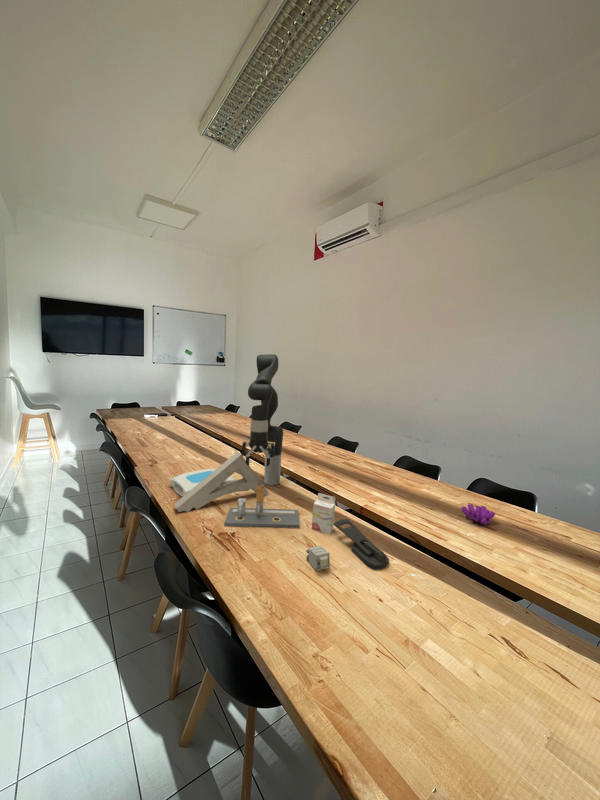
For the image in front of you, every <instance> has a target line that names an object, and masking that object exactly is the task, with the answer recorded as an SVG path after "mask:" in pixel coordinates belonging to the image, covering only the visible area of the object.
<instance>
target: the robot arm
mask: <svg viewBox="0 0 600 800" xmlns="http://www.w3.org/2000/svg"><path fill="white" fill-rule="evenodd" d="M279 364H280V363H279V358H278V355H277V354H271V353H269V354H258V355H257V356H256V369H257V376H256V379H255V380H254V381H253V382H251V384H250V385H249V387H248V389H247V395H248V397H249V399H250V400H252V401H260V404H259V405H253V406H252V407H251V420H250V428H249V429H250V434H249V442H247V441H246V440H245V441H243V442H242V446H241V455H242V456H243V457H245V460H246V464H247V466H250V459H251V458H250V455H251V454H252V453H253V452H254V453H255V454H256V453H258V454H262V453H263V455H264V473H263V474H264V476H263V481H264V482H263V483H264V484H266V485H268V486H269V485H270V486H276V485H279V484H280V483H281V471H282V470H281V468H282V466H281V465H282V451H283V440H284V439H283V438H284V429H283V427H282V426H277V425H271V419H272V418H273V416H274V414H275V413H276V411H277V410H278V407H279V397H278V396H279V395H278V392H277V391H276V390H275V388H274V387H273V386H272V380H273V378H274V377H275V375H276V374H277V372H278V370H279ZM247 447H249V448H250V449H249V451H247V452H246V448H247Z"/></svg>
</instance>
